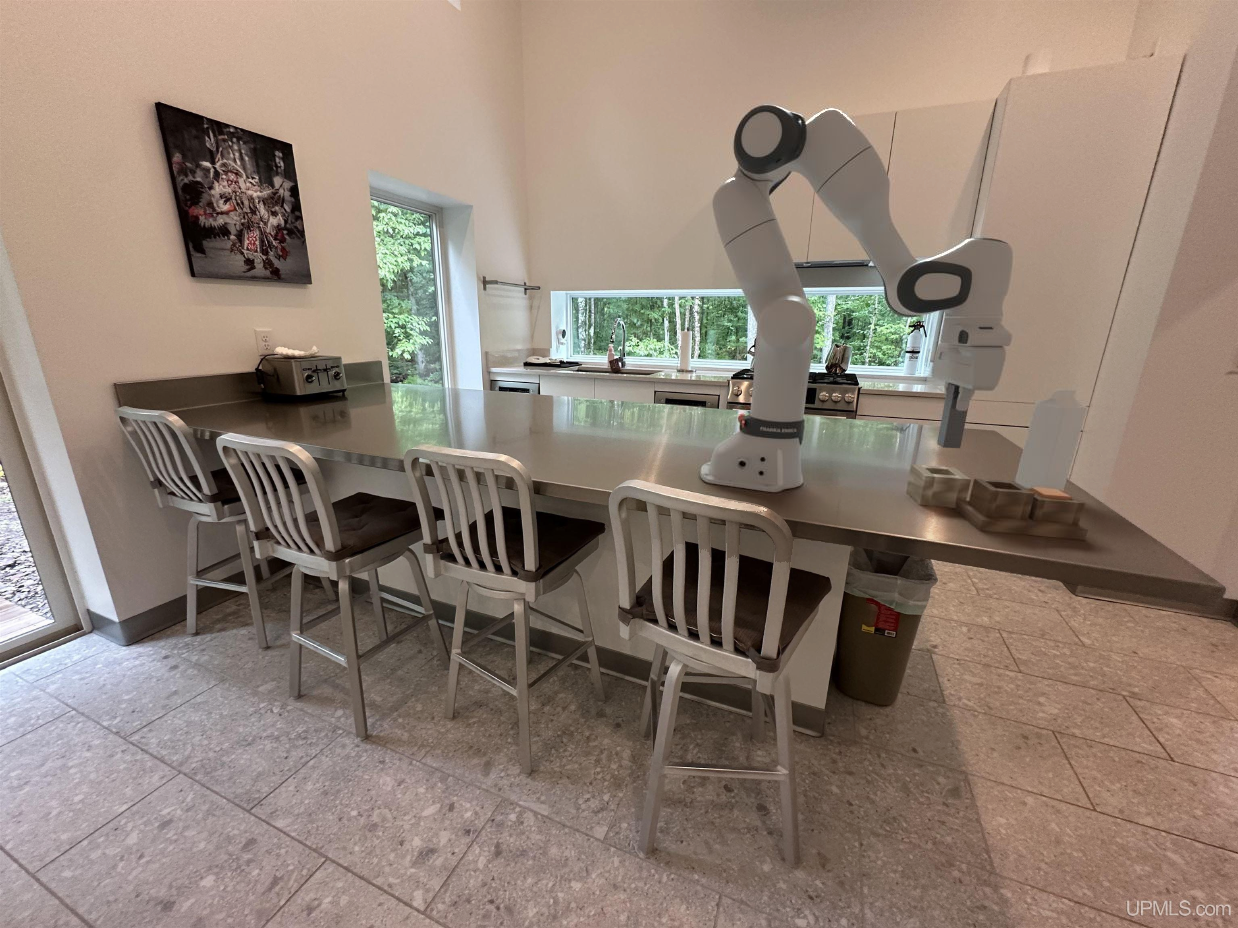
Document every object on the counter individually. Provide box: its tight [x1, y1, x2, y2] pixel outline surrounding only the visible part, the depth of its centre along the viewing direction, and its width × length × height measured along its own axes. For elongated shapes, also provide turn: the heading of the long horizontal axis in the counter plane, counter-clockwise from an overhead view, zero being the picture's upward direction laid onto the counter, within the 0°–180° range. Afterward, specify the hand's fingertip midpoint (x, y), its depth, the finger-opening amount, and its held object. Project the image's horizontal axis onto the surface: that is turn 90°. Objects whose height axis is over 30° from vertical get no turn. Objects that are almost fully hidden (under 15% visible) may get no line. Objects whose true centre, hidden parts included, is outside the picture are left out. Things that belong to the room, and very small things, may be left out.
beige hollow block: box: [905, 464, 972, 509], centre depth 101 cm, size 8×8×6 cm
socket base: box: [954, 477, 1090, 541], centre depth 90 cm, size 16×10×7 cm, turn 78°
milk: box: [1014, 389, 1088, 492], centre depth 105 cm, size 6×6×22 cm
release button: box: [1030, 487, 1072, 500], centre depth 89 cm, size 4×4×4 cm
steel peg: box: [936, 384, 970, 449], centre depth 97 cm, size 3×3×12 cm
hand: (955, 408), depth 97 cm, fingers closed on steel peg, 3 cm apart
